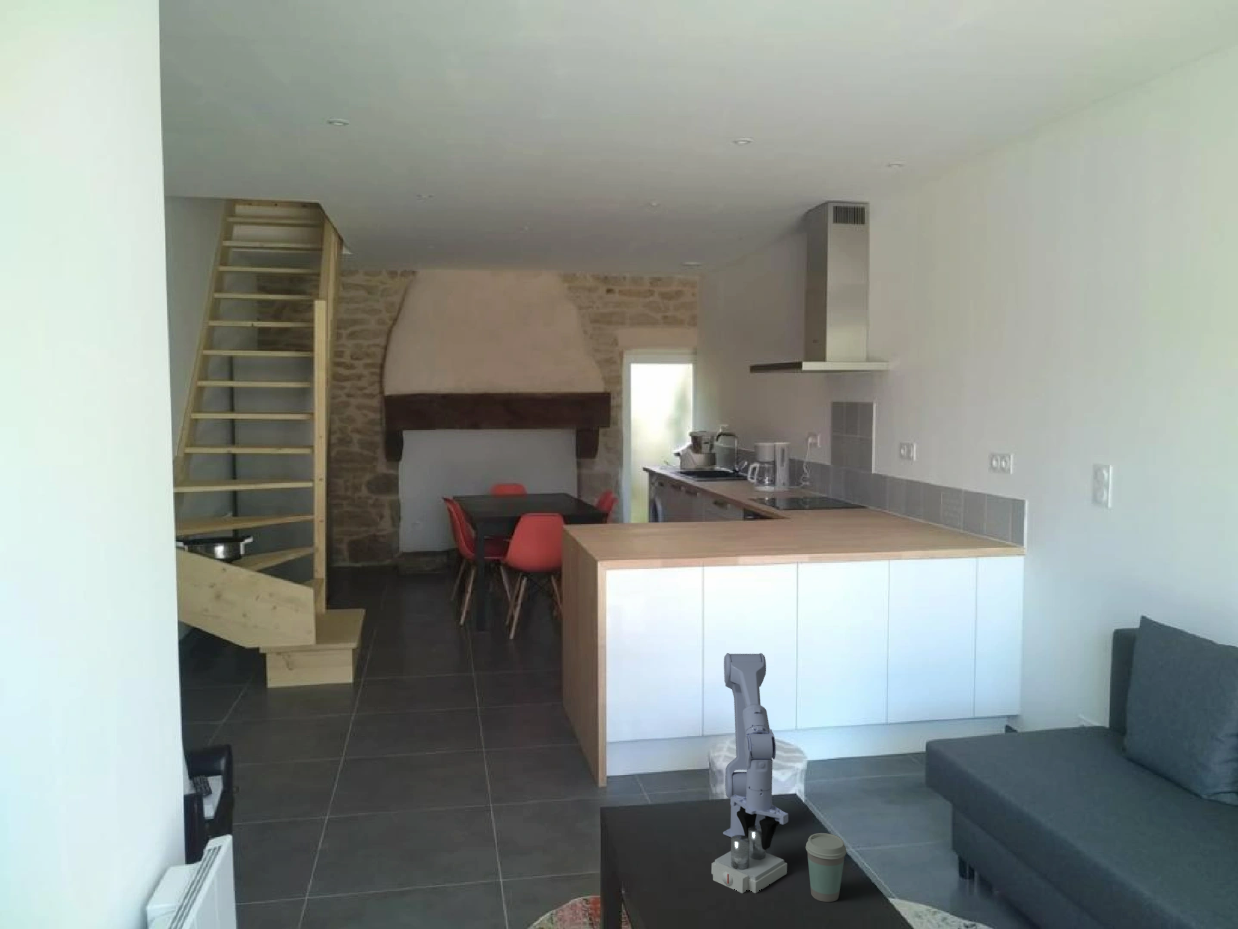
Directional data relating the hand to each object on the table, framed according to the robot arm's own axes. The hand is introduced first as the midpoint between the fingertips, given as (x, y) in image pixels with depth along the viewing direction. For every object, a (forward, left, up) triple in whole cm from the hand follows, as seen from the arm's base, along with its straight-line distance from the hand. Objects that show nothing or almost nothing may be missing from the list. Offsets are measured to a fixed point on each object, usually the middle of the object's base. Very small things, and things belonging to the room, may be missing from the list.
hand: (758, 844), depth 211 cm
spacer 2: (0, 0, -2) cm, 2 cm away
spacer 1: (+7, 0, -2) cm, 7 cm away
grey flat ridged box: (+4, 0, -6) cm, 7 cm away
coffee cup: (-1, +17, -6) cm, 18 cm away
